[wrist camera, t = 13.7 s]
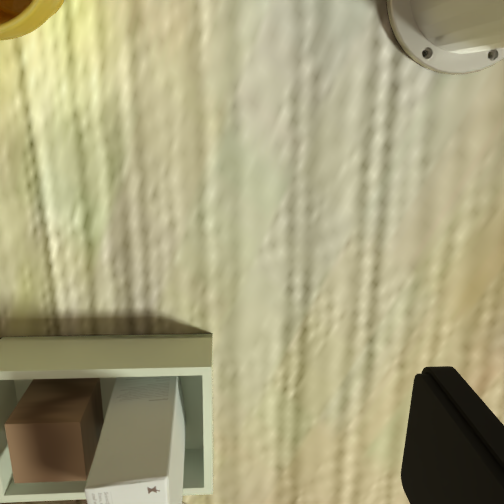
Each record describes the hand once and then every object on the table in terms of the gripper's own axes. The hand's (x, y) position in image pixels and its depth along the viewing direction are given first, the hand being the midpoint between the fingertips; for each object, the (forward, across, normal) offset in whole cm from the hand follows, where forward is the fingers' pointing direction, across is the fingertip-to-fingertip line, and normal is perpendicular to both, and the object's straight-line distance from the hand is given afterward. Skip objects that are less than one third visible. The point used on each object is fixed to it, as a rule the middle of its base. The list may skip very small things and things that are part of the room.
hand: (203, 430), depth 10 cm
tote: (+33, +10, +22) cm, 41 cm away
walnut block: (+32, +14, +22) cm, 42 cm away
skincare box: (+33, +6, +22) cm, 40 cm away
